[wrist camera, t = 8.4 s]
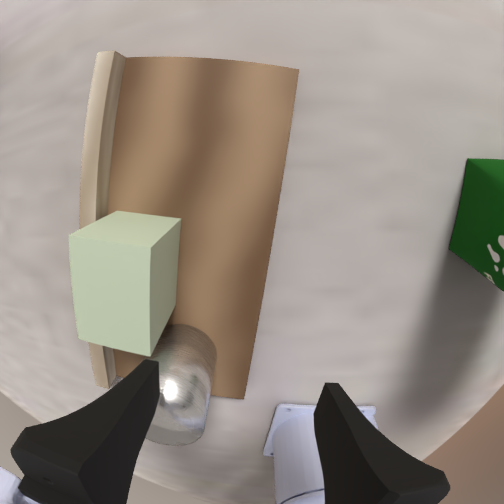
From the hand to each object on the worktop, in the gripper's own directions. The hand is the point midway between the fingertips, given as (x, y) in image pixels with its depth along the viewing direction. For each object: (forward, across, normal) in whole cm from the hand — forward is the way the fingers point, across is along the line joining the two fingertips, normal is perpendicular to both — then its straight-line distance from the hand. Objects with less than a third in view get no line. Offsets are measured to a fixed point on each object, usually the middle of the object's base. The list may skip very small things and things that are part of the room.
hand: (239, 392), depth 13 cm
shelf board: (+10, +5, -3) cm, 11 cm away
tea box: (+9, +7, -2) cm, 11 cm away
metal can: (+9, +4, +5) cm, 11 cm away
